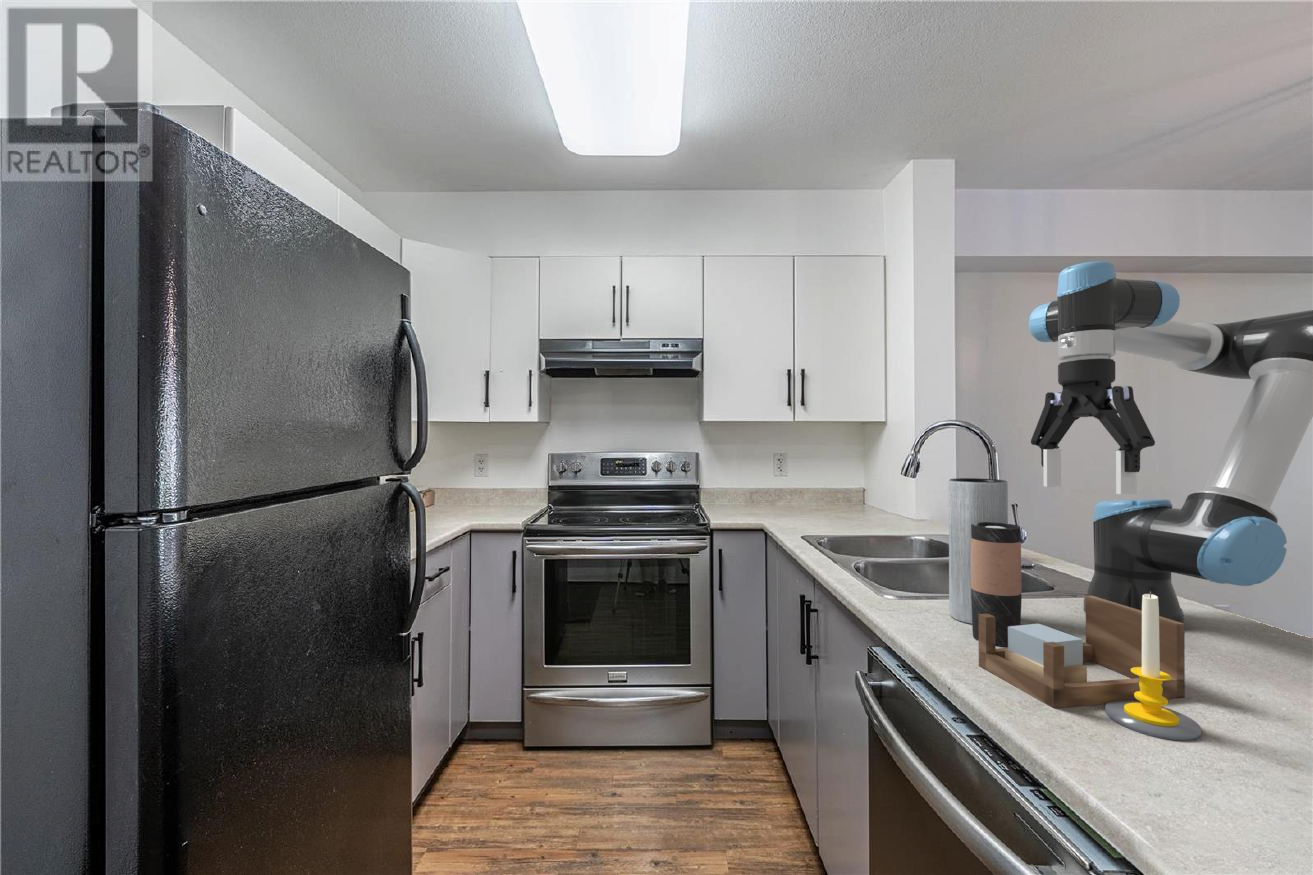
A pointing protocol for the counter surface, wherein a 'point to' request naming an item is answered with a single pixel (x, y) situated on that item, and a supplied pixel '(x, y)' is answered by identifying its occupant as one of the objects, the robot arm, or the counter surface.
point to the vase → (968, 507)
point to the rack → (1093, 658)
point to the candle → (1151, 672)
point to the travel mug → (996, 576)
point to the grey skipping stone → (1180, 732)
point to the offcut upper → (1031, 643)
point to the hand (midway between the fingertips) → (1086, 490)
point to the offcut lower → (1070, 672)
